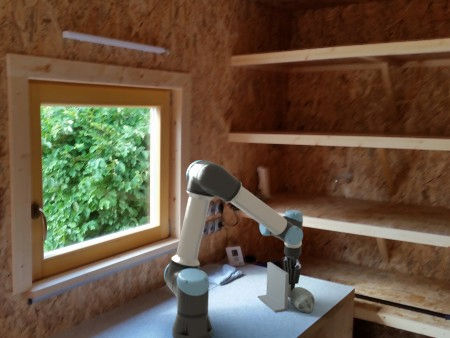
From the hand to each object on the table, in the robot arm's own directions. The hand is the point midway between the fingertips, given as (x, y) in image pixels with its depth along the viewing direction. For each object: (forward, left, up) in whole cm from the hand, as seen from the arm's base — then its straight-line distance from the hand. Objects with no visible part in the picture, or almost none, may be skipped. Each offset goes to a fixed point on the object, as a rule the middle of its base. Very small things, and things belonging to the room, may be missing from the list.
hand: (290, 296), depth 206 cm
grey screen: (-10, 0, -2) cm, 10 cm away
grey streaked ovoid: (0, -9, -2) cm, 9 cm away
